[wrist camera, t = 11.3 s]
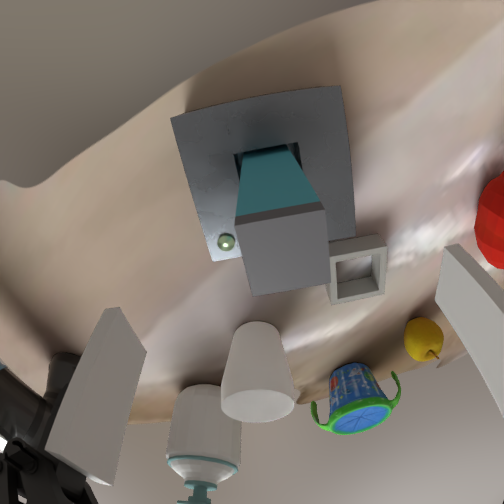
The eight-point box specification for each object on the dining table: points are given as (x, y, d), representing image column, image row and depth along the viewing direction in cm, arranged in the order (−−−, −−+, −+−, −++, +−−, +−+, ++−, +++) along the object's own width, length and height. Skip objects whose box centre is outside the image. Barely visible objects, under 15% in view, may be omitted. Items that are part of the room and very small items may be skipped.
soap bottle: (165, 380, 48) (136, 541, 22) (229, 373, 47) (221, 555, 20) (193, 412, 54) (178, 548, 28) (250, 407, 53) (249, 554, 26)
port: (218, 235, 33) (212, 263, 28) (184, 113, 26) (169, 118, 21) (341, 212, 32) (356, 237, 27) (324, 86, 25) (341, 85, 20)
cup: (268, 304, 39) (273, 379, 28) (298, 342, 43) (307, 411, 32) (212, 329, 41) (203, 400, 31) (246, 362, 45) (245, 428, 35)
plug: (252, 187, 29) (252, 296, 15) (243, 149, 27) (234, 225, 13) (291, 180, 29) (331, 282, 14) (284, 142, 27) (325, 209, 12)
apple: (430, 327, 42) (448, 362, 35) (397, 340, 43) (413, 377, 36) (431, 301, 39) (453, 337, 32) (396, 315, 40) (414, 354, 33)
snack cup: (389, 342, 43) (408, 391, 35) (390, 374, 48) (405, 417, 40) (300, 370, 46) (306, 422, 38) (313, 398, 51) (320, 443, 43)
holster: (326, 290, 37) (331, 305, 35) (322, 243, 34) (328, 257, 31) (376, 280, 37) (384, 294, 34) (377, 233, 33) (387, 246, 31)
